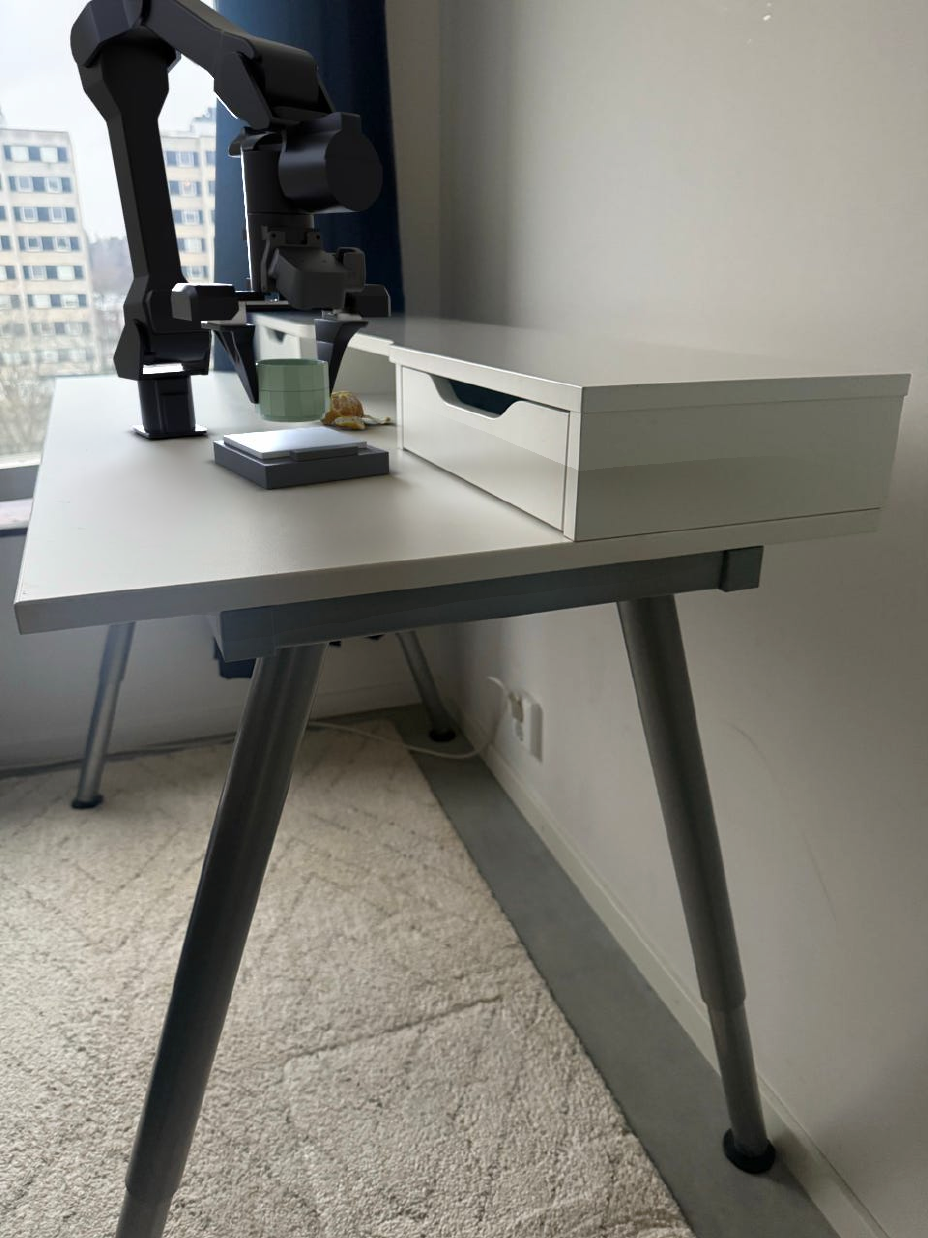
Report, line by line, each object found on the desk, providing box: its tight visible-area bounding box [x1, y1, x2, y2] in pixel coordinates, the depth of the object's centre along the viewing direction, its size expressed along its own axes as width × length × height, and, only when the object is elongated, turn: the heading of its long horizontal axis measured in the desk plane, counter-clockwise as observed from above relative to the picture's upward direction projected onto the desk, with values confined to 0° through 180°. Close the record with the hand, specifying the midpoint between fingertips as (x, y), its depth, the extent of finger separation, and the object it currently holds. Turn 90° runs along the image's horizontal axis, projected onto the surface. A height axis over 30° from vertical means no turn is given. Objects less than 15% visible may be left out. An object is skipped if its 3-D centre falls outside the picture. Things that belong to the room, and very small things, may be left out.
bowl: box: [254, 357, 330, 424], centre depth 79 cm, size 7×7×5 cm
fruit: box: [319, 390, 392, 430], centre depth 104 cm, size 8×8×4 cm
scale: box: [212, 425, 390, 490], centre depth 81 cm, size 13×12×3 cm
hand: (291, 400), depth 80 cm, fingers closed on bowl, 7 cm apart
